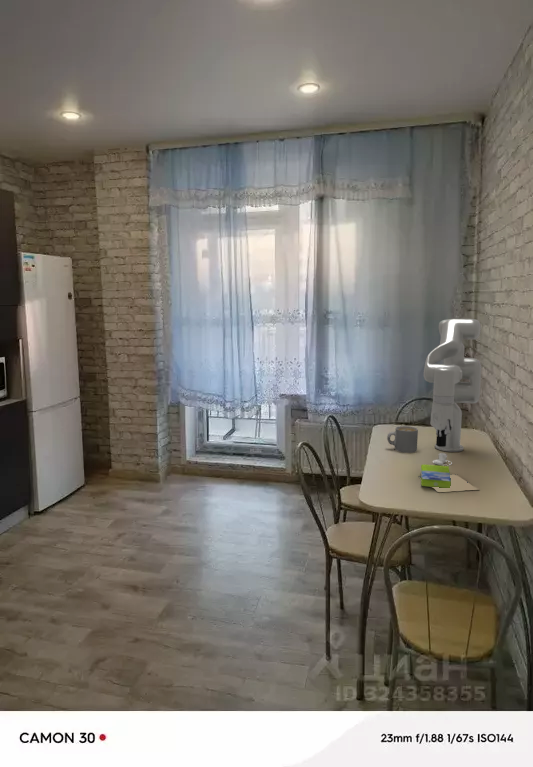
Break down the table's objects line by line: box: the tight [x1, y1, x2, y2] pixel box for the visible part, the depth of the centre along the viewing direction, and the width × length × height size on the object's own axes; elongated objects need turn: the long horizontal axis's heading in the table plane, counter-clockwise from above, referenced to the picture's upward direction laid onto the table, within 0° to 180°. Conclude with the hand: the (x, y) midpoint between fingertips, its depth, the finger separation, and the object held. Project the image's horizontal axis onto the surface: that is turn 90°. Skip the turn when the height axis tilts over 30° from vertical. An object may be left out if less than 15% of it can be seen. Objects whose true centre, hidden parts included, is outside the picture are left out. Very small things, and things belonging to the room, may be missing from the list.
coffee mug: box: [386, 425, 419, 454], centre depth 241 cm, size 13×10×10 cm
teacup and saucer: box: [432, 452, 453, 466], centre depth 221 cm, size 9×8×4 cm
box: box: [420, 464, 451, 488], centre depth 198 cm, size 10×4×17 cm
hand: (440, 445), depth 202 cm, fingers closed
